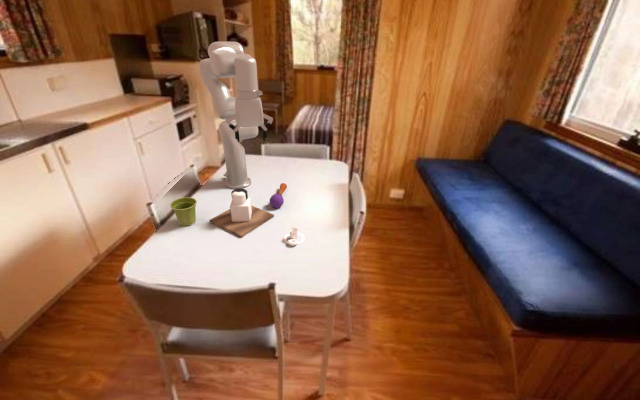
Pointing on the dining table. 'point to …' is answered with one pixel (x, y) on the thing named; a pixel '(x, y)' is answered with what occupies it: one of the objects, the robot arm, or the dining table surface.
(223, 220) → the walnut board
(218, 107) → the robot arm
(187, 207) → the plant pot
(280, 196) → the purple maraca
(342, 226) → the dining table surface
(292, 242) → the white rounded piece
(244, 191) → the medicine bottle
